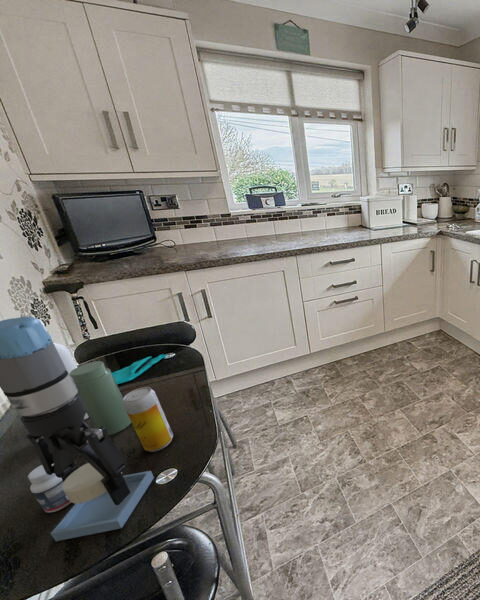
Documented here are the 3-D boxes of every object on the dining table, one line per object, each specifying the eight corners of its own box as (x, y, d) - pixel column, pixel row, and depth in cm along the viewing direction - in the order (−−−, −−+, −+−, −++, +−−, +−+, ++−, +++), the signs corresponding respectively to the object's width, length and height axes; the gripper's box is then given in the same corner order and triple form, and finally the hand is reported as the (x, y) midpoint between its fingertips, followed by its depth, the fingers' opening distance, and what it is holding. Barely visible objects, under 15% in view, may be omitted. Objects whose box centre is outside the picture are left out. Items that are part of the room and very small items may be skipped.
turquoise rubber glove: (74, 401, 101) (71, 395, 101) (76, 383, 111) (73, 378, 110) (172, 366, 117) (170, 360, 116) (166, 353, 127) (164, 348, 126)
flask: (90, 438, 85) (57, 378, 78) (110, 418, 92) (81, 362, 85) (122, 433, 86) (92, 373, 79) (139, 414, 93) (113, 357, 86)
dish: (55, 541, 60) (50, 533, 59) (98, 487, 70) (94, 480, 69) (121, 528, 61) (117, 520, 60) (154, 477, 71) (150, 470, 71)
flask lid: (64, 490, 63) (57, 478, 62) (115, 461, 68) (109, 450, 67) (74, 511, 58) (67, 499, 57) (127, 479, 64) (121, 467, 63)
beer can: (144, 443, 81) (120, 394, 76) (172, 430, 85) (151, 382, 80) (145, 457, 77) (121, 406, 72) (175, 443, 80) (154, 393, 75)
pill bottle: (42, 505, 67) (20, 473, 64) (75, 485, 71) (56, 455, 68) (48, 518, 64) (25, 485, 61) (82, 497, 68) (63, 465, 65)
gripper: (-28, 418, 54) (38, 513, 62) (80, 419, 52) (133, 518, 60) (25, 390, 61) (78, 479, 69) (122, 390, 59) (165, 482, 67)
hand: (103, 497), depth 65 cm, fingers closed on flask lid, 8 cm apart
